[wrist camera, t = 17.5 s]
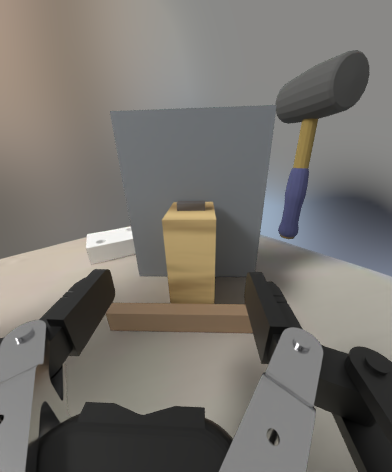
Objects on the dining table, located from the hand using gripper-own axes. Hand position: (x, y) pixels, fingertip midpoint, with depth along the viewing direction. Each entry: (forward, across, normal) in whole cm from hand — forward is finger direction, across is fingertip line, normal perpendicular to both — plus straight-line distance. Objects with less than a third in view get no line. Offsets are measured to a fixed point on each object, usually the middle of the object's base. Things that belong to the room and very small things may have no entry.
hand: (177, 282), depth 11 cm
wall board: (+11, 0, +10) cm, 15 cm away
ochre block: (+11, 0, +11) cm, 15 cm away
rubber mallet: (+30, -20, +11) cm, 37 cm away
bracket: (+24, +15, +11) cm, 31 cm away
